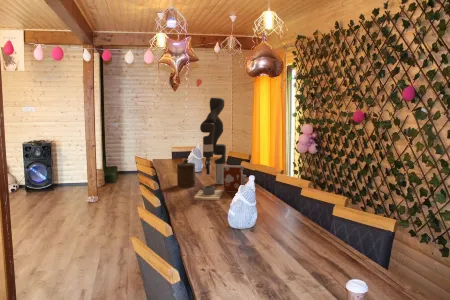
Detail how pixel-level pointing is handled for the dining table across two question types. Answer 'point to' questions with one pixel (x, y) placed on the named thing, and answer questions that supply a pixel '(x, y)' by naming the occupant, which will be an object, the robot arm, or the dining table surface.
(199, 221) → the dining table surface
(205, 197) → the mount board
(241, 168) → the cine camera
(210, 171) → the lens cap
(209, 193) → the lens barrel
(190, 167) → the wooden container
